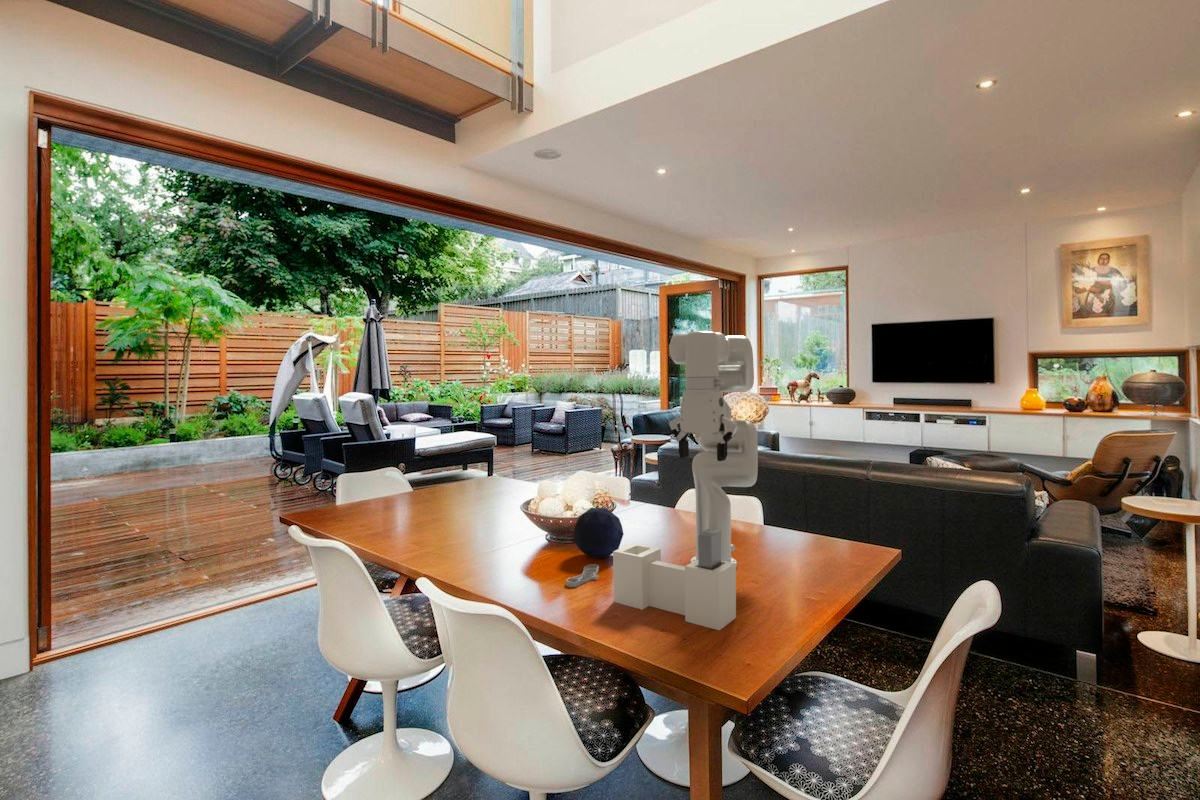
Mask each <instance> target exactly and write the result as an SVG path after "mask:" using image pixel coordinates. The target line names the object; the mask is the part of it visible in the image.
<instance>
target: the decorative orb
mask: <svg viewBox="0 0 1200 800" xmlns="http://www.w3.org/2000/svg"><path fill="white" fill-rule="evenodd" d="M623 537H624V530H623V525H622V523H621V520H620V517H618V516H617V515H615V514H614V513H613V512H612V511H611V510H609V509H608V508H605V507H591V508H589V509H587V510H586V511H585V512H583V513H582V514H580V515H579V516H578V517H577V520H576V521H575V525H574V528H573V542H574V543H575V544H576V547H577V548H578V549H579V550H580V551H581V552H582V553H583V554H584V555H585V556H587V558H588V557H589V558H591V559H592V558H593V559H607V558H608V557H610V556H611V555H613V551H615V550H618V549H620V545H621V543H622V539H623Z"/></svg>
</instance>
